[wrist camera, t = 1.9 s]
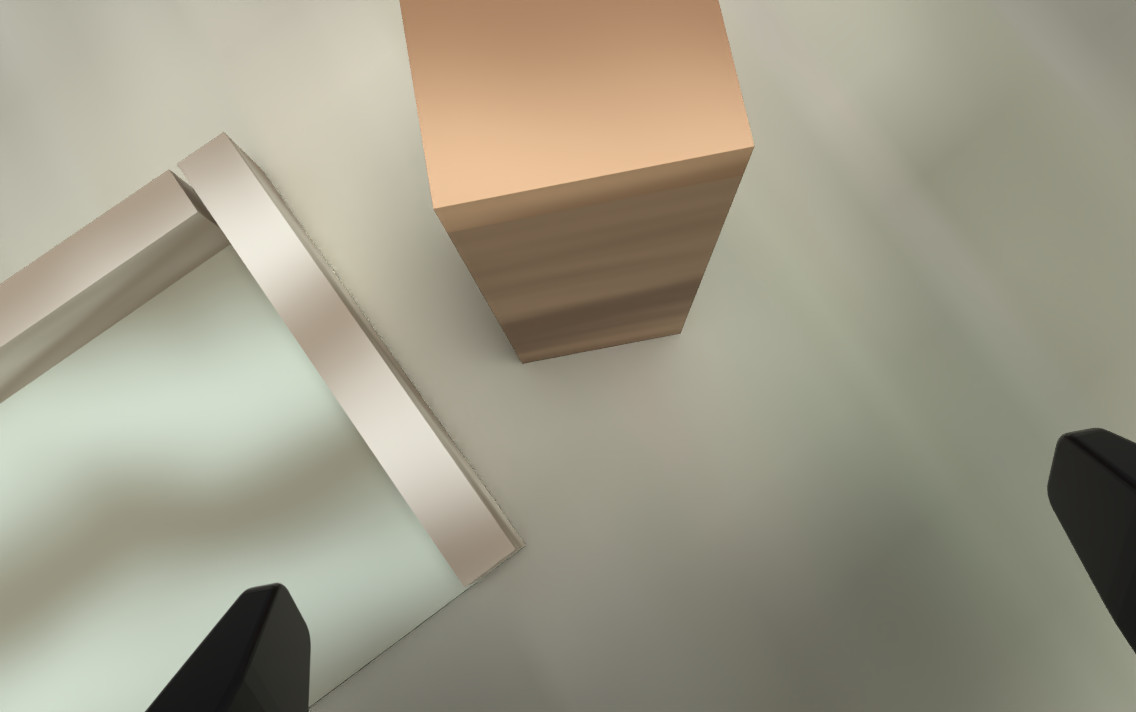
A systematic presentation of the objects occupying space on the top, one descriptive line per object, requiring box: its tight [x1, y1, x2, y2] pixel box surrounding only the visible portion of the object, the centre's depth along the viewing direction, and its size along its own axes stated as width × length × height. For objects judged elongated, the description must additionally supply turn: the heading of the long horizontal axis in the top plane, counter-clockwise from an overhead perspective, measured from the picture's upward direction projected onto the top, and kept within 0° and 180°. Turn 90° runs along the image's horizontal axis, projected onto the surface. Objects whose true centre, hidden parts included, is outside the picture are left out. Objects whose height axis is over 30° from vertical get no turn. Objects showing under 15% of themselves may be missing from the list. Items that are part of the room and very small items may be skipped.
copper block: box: [400, 0, 754, 364], centre depth 18 cm, size 4×4×12 cm
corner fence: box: [0, 132, 526, 712], centre depth 22 cm, size 14×14×2 cm
